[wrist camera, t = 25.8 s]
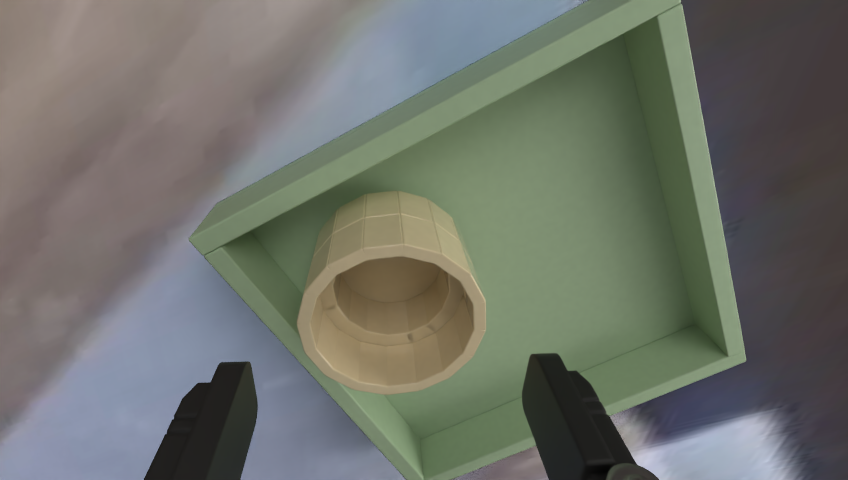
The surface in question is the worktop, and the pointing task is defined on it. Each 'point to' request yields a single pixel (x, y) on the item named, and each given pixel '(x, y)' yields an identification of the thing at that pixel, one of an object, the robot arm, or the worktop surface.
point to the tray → (523, 228)
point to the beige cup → (391, 296)
